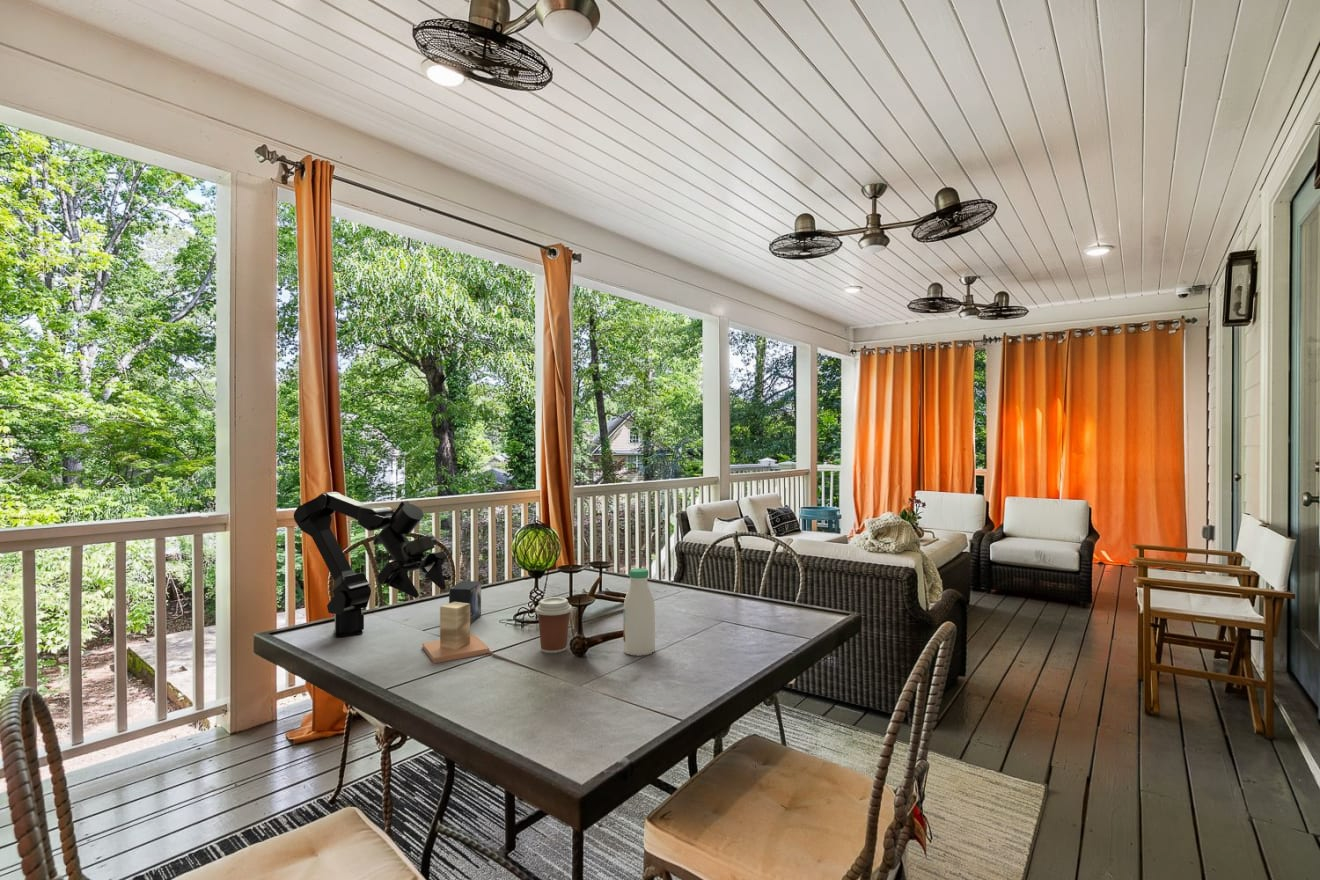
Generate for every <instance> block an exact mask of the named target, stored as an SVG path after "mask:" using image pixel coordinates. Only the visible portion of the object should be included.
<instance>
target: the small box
mask: <svg viewBox="0 0 1320 880" xmlns="http://www.w3.org/2000/svg"><path fill="white" fill-rule="evenodd" d="M448 590H449V592H448V594H449V595H448V597H449V598H448V604H449V603H452V602H461V603H469V604H470V625H472V624H473V623H474V622H475V621H476V620H477V618H478V617H479V616H480V615H481V616H482V581H478V580H477V581H475V580H460V581H459V582H457V583H456V584H454V585H453V586H451V587H449V588H448ZM481 616H480V617H481ZM480 617H479V618H480ZM479 618H478V619H479ZM471 623H472V624H471Z"/></svg>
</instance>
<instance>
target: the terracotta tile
mask: <svg viewBox="0 0 1320 880" xmlns="http://www.w3.org/2000/svg"><path fill="white" fill-rule="evenodd" d="M421 644H422V645H421V646H422V647H421V648H422V649H423V651H424V652H425V653H426V655H427V657H429V659H430V661H433V662H432V663H433V664H438V663H442V662H448V661H453V660H460V659H464V658H470V657H475V656H480V655H481V656H482V655H486V653H487V654H490V647H489V646H487V644H485V642H484V641H483V640H481V639H480V638H479V636H477V635H476V634H470V644H469V645H466V646H464V647H462V648H460V649H457V650H453V649H447V648H441V647H440V639H438V640H431V641H426V642H422V643H421Z"/></svg>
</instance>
